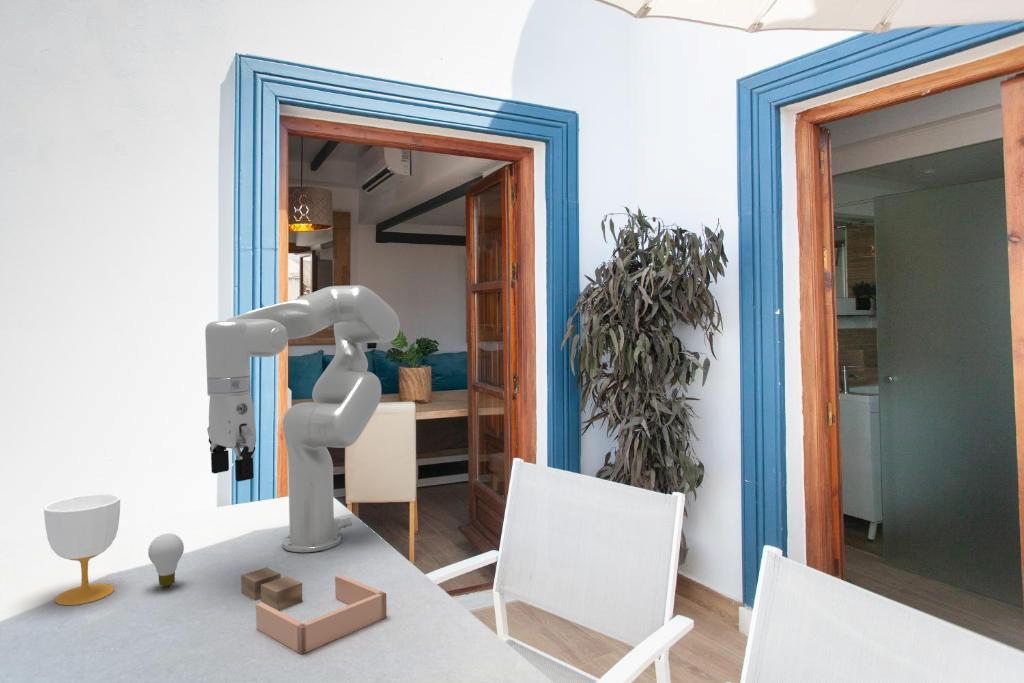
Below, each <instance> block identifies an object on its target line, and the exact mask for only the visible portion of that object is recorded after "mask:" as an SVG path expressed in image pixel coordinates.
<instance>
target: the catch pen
mask: <svg viewBox="0 0 1024 683" xmlns="http://www.w3.org/2000/svg"><path fill="white" fill-rule="evenodd" d="M334 580H335V582H334V584H335V588H334V589H335V590H334V591H335V599H336V600H338V601H341V602H343V603H345V604H347V605H346V606H343V607H341V608H338V609H336V610H333V611H331V612H328V613H326V614H324V615H321V616H318V617H316V618H314V619H311V620H309V621H306V622H304V623H303V622H301V621H299V620H298V619H296V618H293V617H291V616H289V615H288V614H286V613H284V612H282V611H280V610H279V611H278V610H276V609H274V608H272V607H270V606H268V605H266V604H265V603H263V602H261V601H260V602H259V603H256V604H255V620H256V621H255V622H256V623H255V624H256V630H258V631H259V632H262V633H263V634H265V635H266V636H269V637H270V638H272V639H274V640H276V641H277V642H279V643H281V644H282V645H285V646H286V647H288V648H289V649H291V650H292V651H294V652H296V653H298V654H300V655H303V654H306V653H308V652H310V651H312V650H315V649H317V648H319V647H322V646H324V645H326V644H329V643H330V642H331V643H332V642H333V641H335V640H337V639H340V638H342V637H344V636H346V635H348V634H351V633H354V632H356V631H359V630H361V629H362V628H365V627H367V626H369V625H371V624H374V623H376V622H378V621H381V620H383V619H385V618H387V616H388V614H387V593H386V592H384V591H382V590H379V589H377V588H375V587H372V586H370V585H367V584H364V583H362V582H360V581H357V580H355V579H352V578H350V577H347V576H345V575H342V574H338V575H335V576H334Z"/></svg>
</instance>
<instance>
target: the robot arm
mask: <svg viewBox="0 0 1024 683" xmlns="http://www.w3.org/2000/svg"><path fill="white" fill-rule="evenodd" d="M332 325H333V335H334V341H335V354H334V357H333V358H332V359H331V361H330V362H329V363H328V365H327V367H326V368H325V370H324V371H323V372H322V373H321V375H320V376H319V378H317V381H316V382H315V385H314V386H313V389H312V394H311V397H312V401H313V402H312V401H307V402H300V403H295V404H294V405H291V407H289V408H288V409H287V410H286V412H285V414H284V416H283V419H282V432H283V437H284V441H285V445H286V450H287V463H288V465H287V467H288V508H289V509H288V515H289V518H288V519H289V522H288V525H289V534H288V535H287V536H286V537H284V538H283V540H282V541H281V545H282V546H281V547H282V548H283V550H286V551H288V552H292V553H313V552H314V553H315V552H319V551H325V550H329V549H332V548H334V547H335V546H337V545H339V544H340V543H341V541H342V535H341V534H340V531H341V530H342V529H344V528H349V527H351V526H352V525H353V520H352V518H350V517H347V518H344V519H342V520H341V518H334V517H335V515H334V511H335V510H334V509H335V508H334V505H335V504H334V463H333V460H332V456H331V453H330V452H329V450H328V448H339V449H340V448H348V447H351V446H352V445H354V444H355V443H356V442H357V440H358V439H359V438H360V436H361V435H362V433H363V432H364V430H365V429H366V427H367V425H368V424H369V422H370V420H371V419H372V417H373V415H374V413H375V412H376V410H377V408H378V406H379V404H380V401H381V397H382V384H381V381H380V379H379V377H378V376H377V375H376V374H375V373H373V372H371V371H369V370H368V369H369V368H368V367H369V361H368V358H367V357H366V356H367V355H366V354H365V352H364V350H363V347H362V343H364V344H367V343H368V344H371V343H372V344H373V343H376V344H383V343H384V344H386V343H390V342H392V341H394V340H395V339H397V336H398V335H399V334H400V330H401V322H400V319H399V317H398V314H397V313H396V311H395V310H394V309H393V308H392V307H391V306H390V305H389V304H388V303H387V302H386V301H384V300H383V299H382V298H381V297H380V296H379V295H378V294H377V293H375V292H374V291H373V290H372V289H370V288H368V287H366V286H363V285H359V284H358V285H357V284H356V285H355V284H354V285H352V284H351V285H333V286H332V285H331V286H327V287H324V288H323V287H322V288H321V289H319V290H316V291H313V292H311V293H308V294H306V295H303V296H301V297H297V298H295V299H293V300H288V301H284V302H280V303H279V302H278V303H277V304H276V303H275V304H273V305H269V306H264V307H261V308H257V309H256V308H255V309H253V310H249V311H246V312H244V313H241V314H238V315H235V316H233V317H231V318H227V319H226V320H217V321H215V320H214V321H211V322H209V323H208V324H206V326H205V330H204V331H205V332H204V333H205V338H204V339H205V360H206V361H205V362H206V363H205V364H206V384H207V385H206V386H207V387H206V388H207V392H206V393H207V394H206V395H207V396H209V406H208V427H207V428H206V430H207V434H208V443H209V445H210V446H209V451H210V465H211V467H210V468H211V473H212V474H214V475H215V474H219V473H225V472H228V471H229V470H230V461H229V460H230V458H229V457H230V456H229V450H227V449H231V450H232V449H233V451H234V454H235V457H236V459H235V460H234V472H235V473H234V475H235V481H236V482H242V481H243V482H244V481H248V480H252V479H254V477H255V476H254V475H255V474H254V458H255V452H256V443H257V431H256V430H257V429H256V418H255V411H254V410H255V408H254V404H253V398H252V395H251V393H252V392H251V391H252V389H251V387H252V386H251V365H250V364H251V363H250V362H251V361H250V359H251V358H250V357H253V358H254V357H255V358H269V357H274V356H277V355H279V354H280V353H282V352H283V351H284V350H285V349H286V347H287V345H288V342H289V340H293V339H294V340H297V339H301V338H302V339H303V338H306V337H311V336H313V335H314V334H317V333H318V332H321V331H323V330H324V329H327V328H329V327H331V326H332ZM241 449H242V450H241Z"/></svg>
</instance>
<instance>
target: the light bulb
mask: <svg viewBox="0 0 1024 683" xmlns="http://www.w3.org/2000/svg"><path fill="white" fill-rule="evenodd" d="M184 550H185V545H184V541H183V540H182V539H181V537H180V536H179V535H176V534H174V533H163V534H160V535H158V536H156V537H155V538H154V539H153V540H152V541H151V542H150V545H149V547H148V554H147V555H148V558H149V560H150V561H151V563H152V564H153V565H154V568H155V570H156V573H157V576H158V584H159V586H161V587H163V588H165V589H167V588H169V587H171V586H172V585H173V584H174V583H175V582H176V581H175V580H176V577H175V576H176V571H177V568H178V563H179V562H180V560H181V558H182V556H183V555H184Z"/></svg>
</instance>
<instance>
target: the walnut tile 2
mask: <svg viewBox="0 0 1024 683" xmlns="http://www.w3.org/2000/svg"><path fill="white" fill-rule="evenodd" d="M261 602H263V603H265V604H266V605H268V606H270V607H272V608H274V609H276V610H278V611H280V610H281V611H282V610H284V609H286V608H289V607H291V606H294V605H297V604H299V603H302V602H303V582H301V581H299V580H296V579H293V578H291V577H289V576H287V575H286V576H283V577H281V578H279V579H277V580H274V581H271V582H268V583H265V584H262V585H261V599H260V603H261Z"/></svg>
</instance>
